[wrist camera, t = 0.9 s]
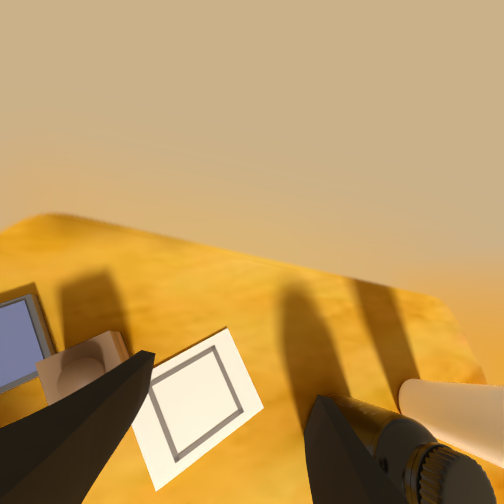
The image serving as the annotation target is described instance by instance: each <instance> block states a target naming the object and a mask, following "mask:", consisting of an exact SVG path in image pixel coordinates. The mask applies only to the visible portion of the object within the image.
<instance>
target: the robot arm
mask: <svg viewBox="0 0 504 504" xmlns="http://www.w3.org/2000/svg"><path fill="white" fill-rule="evenodd" d="M154 359H155V353H151V352H147V351H143V350H141V351H139V352H138V353H136V354H135V355H133V356H132V357H130V358H129V359H127V360H126V361H124V362H123V363H121V364H119V365H118V366H116V367H115V368H113V369H112V370H110V371H109V372H107V373H105V374H104V375H102V376H101V377H99V378H97V379H96V380H94V381H92V382H91V383H89V384H87V385H86V386H84V387H82V388H80V389H79V390H77V391H75V392H73V393H72V394H70V395H68V396H66V397H65V398H63V399H61V400H59V401H57V402H55V403H53V404H51V405H49V406H47V407H45V408H43V409H41V410H39V411H37V412H35V413H33V414H31V415H29V416H27V417H25V418H23V419H20V420H18V421H16V422H13V423H11V424H9V425H7V426H4V427H2V428H0V504H81V503H82V502H83V500H84V498H85V496H86V495H87V493H88V491H89V490H90V488H91V486H92V485H93V483H94V481H95V480H96V478H97V477H98V475H99V474H100V472H101V471H102V469H103V468H104V466H105V465H106V463H107V461H108V460H109V458H110V457H111V455H112V454H113V452H114V451H115V449H116V448H117V446H118V444H119V443H120V441H121V440H122V438H123V437H124V435H125V434H126V432H127V431H128V429H129V427H130V426H131V424H132V423H133V421H134V420H135V418H136V416H137V414H138V412H139V410H140V408H141V406H142V405H143V403H144V401H145V399H146V397H147V395H148V392H149V387H150V381H151V376H152V370H153V364H154ZM304 441H305V455H306V465H307V471H308V477H309V483H310V488H311V494H312V500H313V504H410V503H409V502H408V501H407V500H406V498H405V497H404V496H403V495H402V494H401V492H400V491H399V490H398V489H397V488H396V486H395V485H394V484H393V483H392V481H391V480H390V479H389V477H388V476H387V475H386V474H385V472H384V471H383V470H382V468H381V467H380V466H379V465H378V463H377V462H376V461H375V459H374V458H373V457H372V455H371V454H370V452H369V451H368V450H367V448H366V447H365V446H364V444H363V443H362V441H361V440H360V439H359V437H358V436H357V434H356V433H355V431H354V430H353V429H352V427H351V426H350V424H349V423H348V421H347V420H346V418H345V417H344V415H343V414H342V413H341V411H340V410H339V408H338V407H337V405H336V404H335V403H334V401H333V400H332V398H328V397H324V396H320V395H318V396H317V398H316V401H315V404H314V407H313V409H312V412H311V415H310V417H309V420H308V423H307V426H306V428H305V431H304Z"/></svg>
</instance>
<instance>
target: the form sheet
mask: <svg viewBox="0 0 504 504" xmlns="http://www.w3.org/2000/svg"><path fill="white" fill-rule="evenodd" d="M263 408H264V407H263V405H262V403H261V400H260V398H259V396H258V394H257V392H256V389H255V387H254V385H253V383H252V381H251V378H250V376H249V374H248V372H247V370H246V367H245V365H244V363H243V361H242V359H241V356H240V354H239V352H238V350H237V348H236V345H235V343H234V341H233V339H232V337H231V334H230V332H229V330H228V328H226V329H225V330H223V331H221V332H219V333H217V334H216V335H214V336H212V337H210V338H208V339H206V340H205V341H203V342H201V343H199V344H197V345H195V346H194V347H192V348H190V349H188V350H186V351H185V352H183V353H181V354H179V355H177V356H175V357H174V358H172V359H170V360H168V361H166V362H164V363H163V364H161V365H159V366H157V367H155V368H153V370H152V376H151V381H150V387H149V392H148V395H147V397H146V399H145V401H144V403H143V405H142V406H141V408H140V410H139V412H138V414H137V416H136V418H135V420H134V421H133V423H132V424H131V425H132V427H133V430H134V433H135V435H136V438H137V441H138V444H139V446H140V449H141V452H142V455H143V457H144V460H145V463H146V465H147V468H148V471H149V474H150V476H151V479H152V482H153V484H154V487H155V490H156V491H158V490H159V489H160V488H161V487H163V486H164V485H165V484H167V483H168V482H169V481H170V480H172V479H173V478H174V477H176V476H177V475H178V474H179V473H181V472H182V471H183V470H185V469H186V468H187V467H188V466H190V465H191V464H192V463H194V462H195V461H196V460H197V459H199V458H200V457H201V456H203V455H204V454H205V453H206V452H208V451H209V450H210V449H212V448H213V447H214V446H215V445H217V444H218V443H219V442H221V441H222V440H223V439H224V438H226V437H227V436H228V435H230V434H231V433H232V432H233V431H235V430H236V429H237V428H239V427H240V426H241V425H242V424H244V423H245V422H246V421H248V420H249V419H250V418H251V417H253V416H254V415H255V414H256V413H258V412H259V411H260V410H262V409H263Z"/></svg>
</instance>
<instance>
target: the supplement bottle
mask: <svg viewBox="0 0 504 504" xmlns="http://www.w3.org/2000/svg"><path fill="white" fill-rule="evenodd" d="M325 397H328V398H332V400H333V401H334V403H335V404H336V405H337V407H338V408H339V410H340V411H341V413H342V414H343V415H344V417H345V418H346V420H347V421H348V423H349V424H350V426H351V427H352V429H353V430H354V431H355V433H356V434H357V436H358V437H359V439H360V440H361V441H362V443H363V444H364V446H365V447H366V448H367V450H368V451H369V452H370V454H371V455H372V457H373V458H374V459H375V461H376V462H377V463H378V465H379V466H380V467H381V468H382V470H383V471H384V472H385V474H386V475H387V476H388V477H389V479H390V480H391V481H392V483H393V484H394V485H395V486H396V488H397V489H398V490H399V491H400V492H401V494H402V495H403V496H404V497H405V498H406V500H407V501H408V502H409V503H410V504H497V502H496V497H495V495H494V490H493V488H492V486H491V483H490V480H489V479H488V477H487V475H486V472H485V471H483V469H482V467H481V466H480V465H479V464H477V462H476V461H475V460H473V459H471V458H470V457H469V456H467V455H465V454H462V453H460V452H457V451H454V450H453V449H451V448H450V447H448V446H446V445H443V444H440V443H438V441H437V440H436V438H435V437H434V436H433V435H432V433H431V432H430V431H429V430H428V429H427V428H426V427H425V426H423V425H422V424H421V423H419V422H418V421H416V420H414V419H412V418H410V417H407V416H404V415H401V414H398V413H395V412H392V411H389V410H386V409H384V408H381V407H378V406H375V405H372V404H369V403H366V402H363V401H360V400H357V399H354V398H351V397H347V396H344V395H340V394H330V395H327V396H325ZM310 415H311V414H310Z"/></svg>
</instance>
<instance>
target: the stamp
mask: <svg viewBox="0 0 504 504" xmlns="http://www.w3.org/2000/svg"><path fill="white" fill-rule="evenodd" d="M129 358H130V355H129V352H128V350H127V347H126V345H125V342H124V339H123V337H122V334H121V332H117V331H110V330H109V331H107V332H105V333H102V334H100V335H98V336H95V337H93V338H91V339H89V340H86V341H84V342H82V343H80V344H77V345H75V346H73V347H71V348H68V349H66V350H64V351H62V352H59V353H57V354H55V355H52V356H50V357H48V358H46V359H43V360H41V361H39V362H37V363H35V365H36V368H37V371H38V374H39V378H40V381H41V384H42V387H43V390H44V393H45V396H46V399H47V403H48V406H49V405H51V404H53V403H55V402H57V401H59V400H61V399H63V398H65V397H66V396H68V395H70V394H72V393H73V392H75V391H77V390H79V389H80V388H82V387H84V386H86V385H87V384H89V383H91V382H92V381H94V380H96V379H97V378H99V377H101V376H102V375H104V374H105V373H107V372H109V371H110V370H112V369H113V368H115V367H116V366H118V365H119V364H121V363H123V362H124V361H126V360H127V359H129Z"/></svg>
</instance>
